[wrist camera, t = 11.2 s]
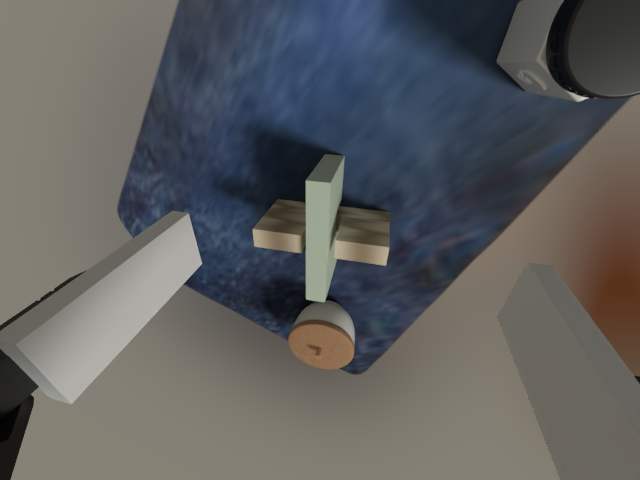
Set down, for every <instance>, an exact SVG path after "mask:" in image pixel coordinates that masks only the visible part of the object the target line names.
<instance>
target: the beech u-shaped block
mask: <svg viewBox="0 0 640 480" xmlns="http://www.w3.org/2000/svg"><path fill="white" fill-rule="evenodd" d="M389 215H390V212H386V211H377V210H368V209H359V208H351V207H342V206H339V207H338V210H337V218H336V232H338V233H337V237H336V240H335V254H334V258H337V259H344V260H351V261H358V262H364V263H371V264H378V265H385V266H386V263H387V257H388V252H389ZM253 238H254V246H255V247H262V248H269V249H275V250H282V251H289V252H296V253H302V251H303V249H304V247H305V245H306V202H299V201H290V200H281V199H277V201H276V202H275V203H274V204H273V205H272V207H271V208H270V209H269V210H268V211H267V212H266V214H265V215H264V216H263V217H262V218H261V219H260V221H259V222H258V223H257V224H256V225H255V227H254V228H253Z"/></svg>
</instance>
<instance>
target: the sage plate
mask: <svg viewBox="0 0 640 480" xmlns="http://www.w3.org/2000/svg"><path fill="white" fill-rule="evenodd" d="M344 157H345V156H342V155H330V154H325V155H324V156H323V158H322V159H321V161H320V162H319V163H318V165H317V166H316V167H315V169H314V170H313V171H312V173H311V174H310V175H309V177H308V178H307V179H306V299H307V300H312V301H318V302H324V303H325V301H326V297H327V293H328V290H329V286H330V282H331V279H332V275H333V272H334V268H335V264H336V261H337V258H334V254H335V240H336V237H337V233H338V232H336V218H337V210H338V207H339V205H340V202H341V199H342V185H343V171H344Z"/></svg>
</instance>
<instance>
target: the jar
mask: <svg viewBox="0 0 640 480" xmlns="http://www.w3.org/2000/svg"><path fill="white" fill-rule="evenodd" d="M496 62H497V64H498V65H499V66H500V67H501V68H503V69H504V70H505V71H506V72H507V73H508V74H509V75H510V76H511V77H512V78H513V79H514V80H515V81H516V82H517V83H518V84H519V85H520V86H521V87H522V88H523V89H524V90H525V91H526V92H528V93H533V94H539V95H544V96H549V97H555V98H560V99H565V100H570V101H576V102H579V101H582V100H585V99H588V98H594V99H597V98H603V99H618V98H625V97H631V96H635V95H639V94H640V0H521V1H519V2H518V4H517V6H516V9H515V12H514V14H513V17H512V20H511V22H510V25H509V28H508V31H507V33H506V36H505V39H504V41H503V44H502V47H501V50H500V52H499V55H498V58H497V61H496Z"/></svg>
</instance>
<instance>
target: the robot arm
mask: <svg viewBox="0 0 640 480" xmlns="http://www.w3.org/2000/svg"><path fill="white" fill-rule="evenodd" d="M201 264H202V262H201V258H200V254H199V251H198V247H197V243H196V239H195V236H194V232H193V228H192V224H191V221H190V217H189V213H184V212H177V211H172V212H170V213H169V214H167V215H166V216H165V217H163V218H162V219H160V220H159V221H157V222H156V223H155V224H153V225H152V226H150V227H149V228H147V229H146V230H144V231H143V232H142V233H140V234H139V235H137V236H136V237H134V238H133V239H132V240H130V241H129V242H127V243H126V244H124V245H123V246H121V247H120V248H119V249H117V250H116V251H114V252H113V253H111V254H110V255H109V256H107V257H106V258H104V259H103V260H102V261H100V262H98V263H97V264H96V265H94V266H93V267H91V268H90V269H88V270H86V271H84V272H82V273H80V274H78V275H75V276H73V277H71V278H69V279H68V280H66V281H65V282H63V283H62V284H60V285H59V286H58V287H56V288H55V289H54V291H50V292H49V293H47V294H46V295H44V296H43V297H41V300H40V301H36V302H34V303H33V304H31V305H30V306H28V307H27V308H25V309H24V310H22V311H21V312H20V313H18V314H17V315H15V316H14V317H12V318H11V319H9V320H8V321H6V322H5V323H3V324H2V325H0V480H10V479H11V476H12V472H13V469H14V466H15V463H16V459H17V456H18V453H19V450H20V447H21V443H22V440H23V437H24V434H25V430H26V427H27V424H28V421H29V417H30V414H31V411H32V408H33V404H34V403H33V402H34V397H33V396H32V395H31V393H32V392H33V391H34V390H36V389H37V388H38V387H39V388H40V389H41V390H42V391H43V392H44V393H45V394H46V395H47V396H48V397H50V398H52V399H55V400H59V401H62V402H65V403H69V404H72V403H73V402H74V401H75V400H76V398H78V396H79V395H80V394H81V393H82V392H83V391H84V390H85V389H86V388H87V387H88V386H89V384H91V382H92V381H93V380H94V379H95V378H96V377H97V376H98V375H99V374H100V373H101V372H102V371H103V370H104V368H105V367H106V366H107V365H108V364H109V363H110V362H111V361H112V360H113V359H114V358H115V357H116V356H117V355H118V354H119V352H120V351H121V350H122V349H123V348H124V347H125V346H126V345H127V344H128V343H129V341H131V339H132V338H133V337H134V336H135V335H136V334H137V333H138V332H139V331H140V330H141V329H142V328H143V327H144V326H145V325H146V323H147V322H148V321H149V320H150V319H151V318H152V317H153V316H154V315H155V314H156V313H157V312H158V311H159V309H160V308H161V307H162V306H163V305H164V304H165V303H166V302H167V301H168V299H170V298H171V297H172V296H173V294H174V293H175V292H176V291H177V290H178V289H179V288H180V287H181V286H182V285H183V284H184V283H185V282H186V280H187V279H188V278H189V277H190V276H191V275H192V274H193V273H194V272H195V271H196V270H197V269H198V268H199V267H200V265H201ZM497 317H498V319H499V322H500V325H501V327H502V330H503V333H504V335H505V338H506V340H507V343H508V346H509V348H510V351H511V353H512V356H513V359H514V361H515V364H516V366H517V369H518V371H519V374H520V376H521V379H522V382H523V384H524V387H525V389H526V392H527V394H528V397H529V400H530V402H531V405H532V408H533V410H534V413H535V415H536V418H537V420H538V423H539V426H540V428H541V431H542V433H543V436H544V438H545V441H546V444H547V446H548V449H549V451H550V454H551V457H552V459H553V462H554V464H555V467H556V469H557V472H558V474H559V477H560V480H640V377H638V376H634V375H633V374H632V373H631V372H630V370H629V369H628V367H627V366H626V365H625V363H624V362H623V361H622V359H621V358H620V357H619V355H618V354H617V353H616V351H615V350H614V349H613V347H612V346H611V345H610V343H609V342H608V340H607V339H606V338H605V337H604V335H603V334H602V333H601V331H600V330H599V328H598V327H597V326H596V324H595V323H594V322H593V320H592V319H591V318H590V316H589V315H588V313H587V312H586V311H585V309H584V308H583V307H582V306H581V304H580V303H579V301H578V300H577V299H576V297H575V296H574V295H573V293H572V292H571V291H570V289H569V288H568V287H567V285H566V284H565V282H564V281H563V280H562V278H561V277H560V276H559V275H558V273H557V272H556V270H555V269H554V268H553V266H548V265H541V264H534V263H527V265H526V266H525V268H524V270H523V272H522V274H521V275H520V277H519V279H518V281H517V282H516V284H515V286H514V288H513V289H512V291H511V293H510V295H509V296H508V298H507V300H506V302H505V304H504V305H503V307H502V309H501V310H500V312H499V314H498V316H497Z"/></svg>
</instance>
